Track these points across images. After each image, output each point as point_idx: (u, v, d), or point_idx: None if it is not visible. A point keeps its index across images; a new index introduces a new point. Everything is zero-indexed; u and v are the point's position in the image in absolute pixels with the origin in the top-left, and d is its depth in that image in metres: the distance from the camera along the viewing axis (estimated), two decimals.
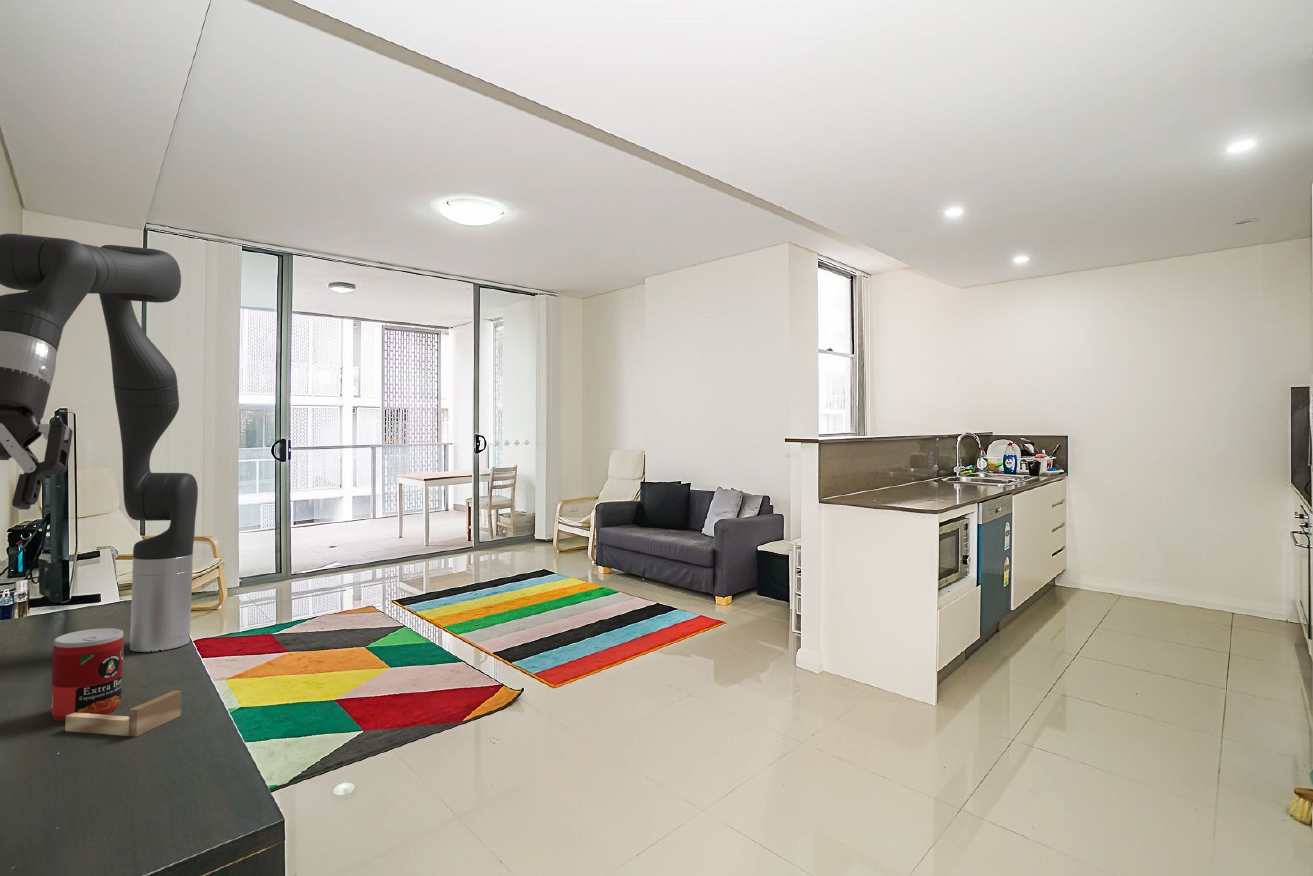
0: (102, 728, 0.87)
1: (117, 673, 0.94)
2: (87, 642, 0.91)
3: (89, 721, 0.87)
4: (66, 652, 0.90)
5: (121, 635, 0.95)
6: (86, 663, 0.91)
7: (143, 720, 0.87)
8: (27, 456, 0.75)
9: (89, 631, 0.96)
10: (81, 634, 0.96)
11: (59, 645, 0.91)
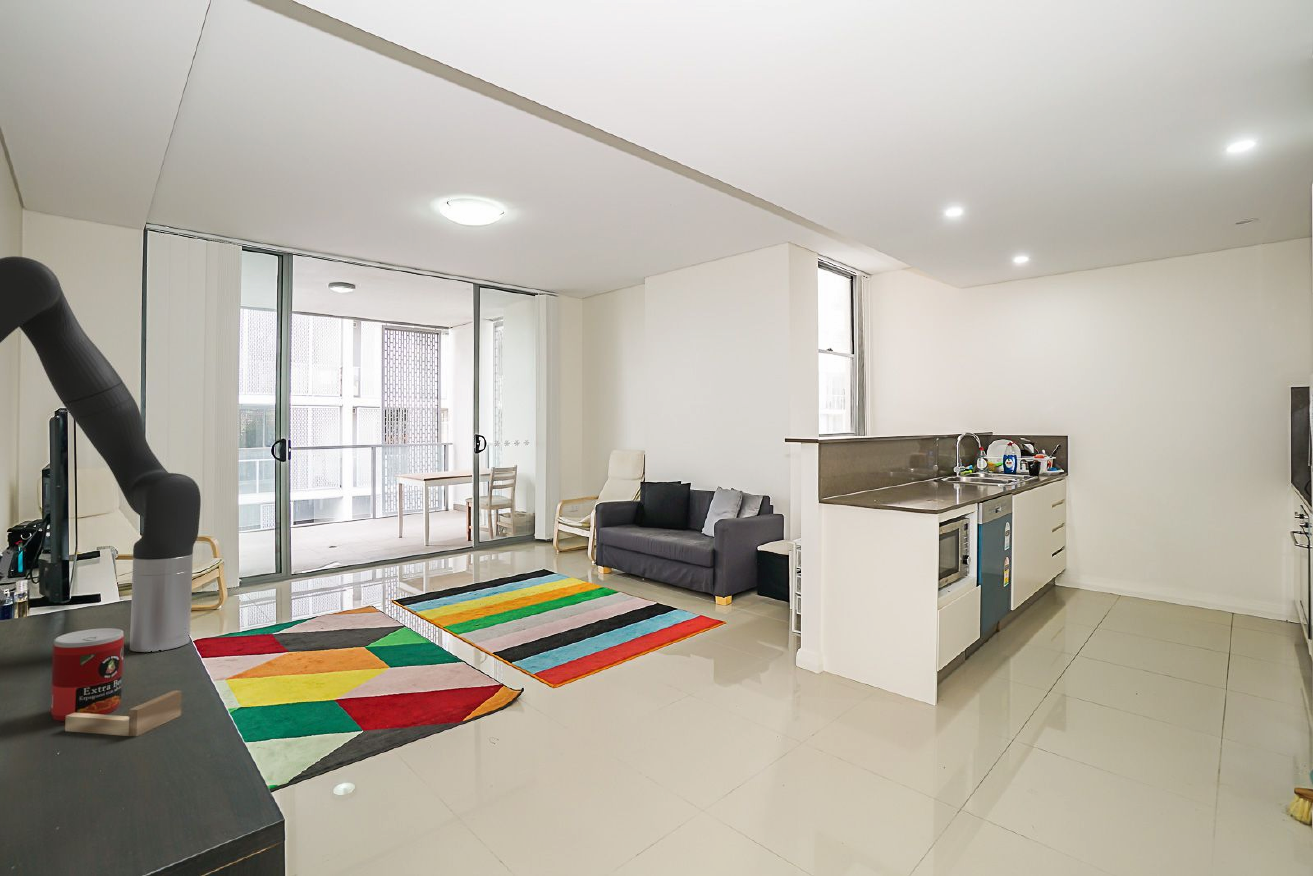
0: (102, 728, 0.87)
1: (117, 673, 0.94)
2: (87, 642, 0.91)
3: (89, 721, 0.87)
4: (66, 652, 0.90)
5: (121, 635, 0.95)
6: (86, 663, 0.91)
7: (143, 720, 0.87)
8: None
9: (89, 631, 0.96)
10: (81, 634, 0.96)
11: (59, 645, 0.91)
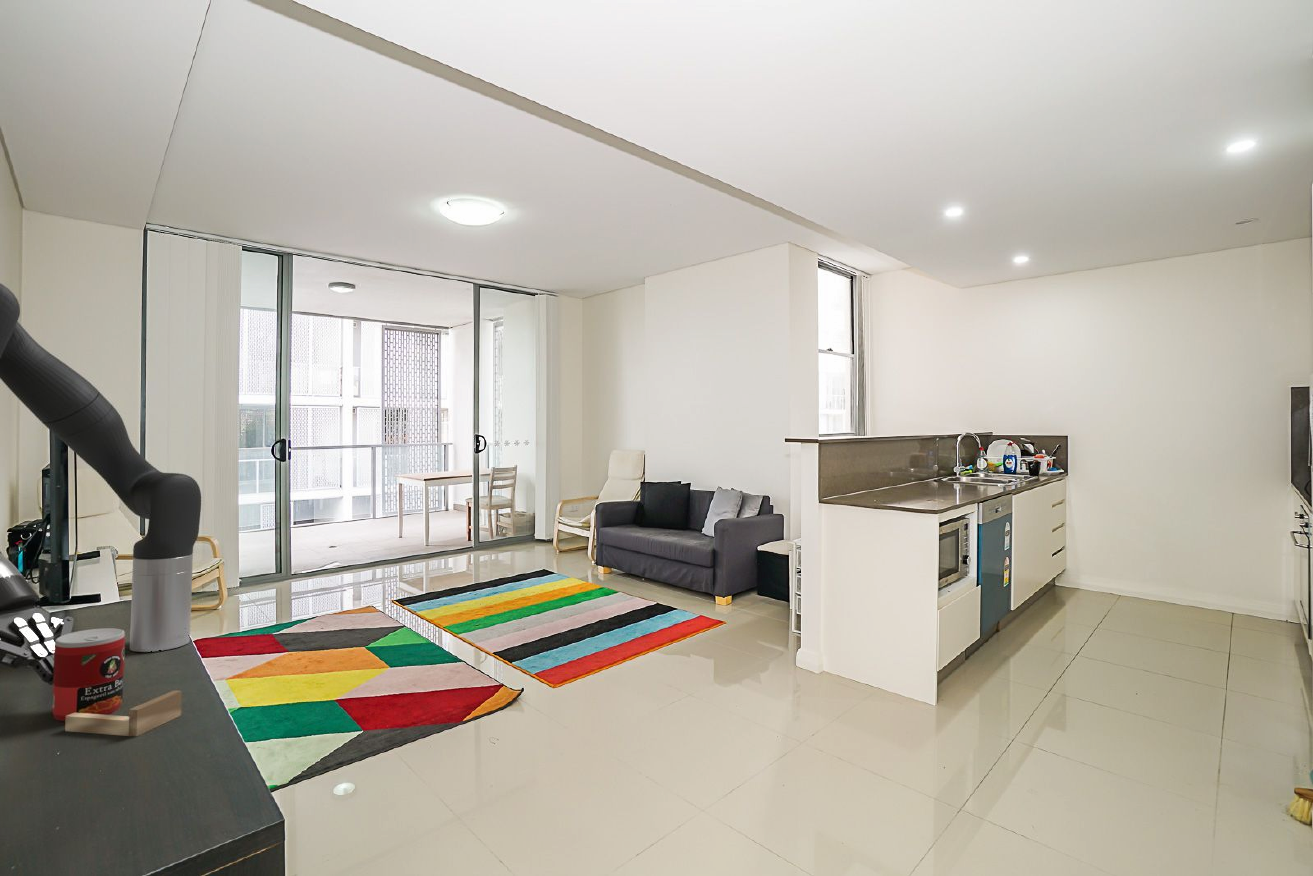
0: (102, 728, 0.87)
1: (119, 673, 0.94)
2: (89, 642, 0.91)
3: (89, 721, 0.87)
4: (67, 652, 0.90)
5: (122, 635, 0.95)
6: (88, 663, 0.91)
7: (143, 720, 0.87)
8: None
9: (90, 631, 0.96)
10: (82, 634, 0.95)
11: (60, 645, 0.90)
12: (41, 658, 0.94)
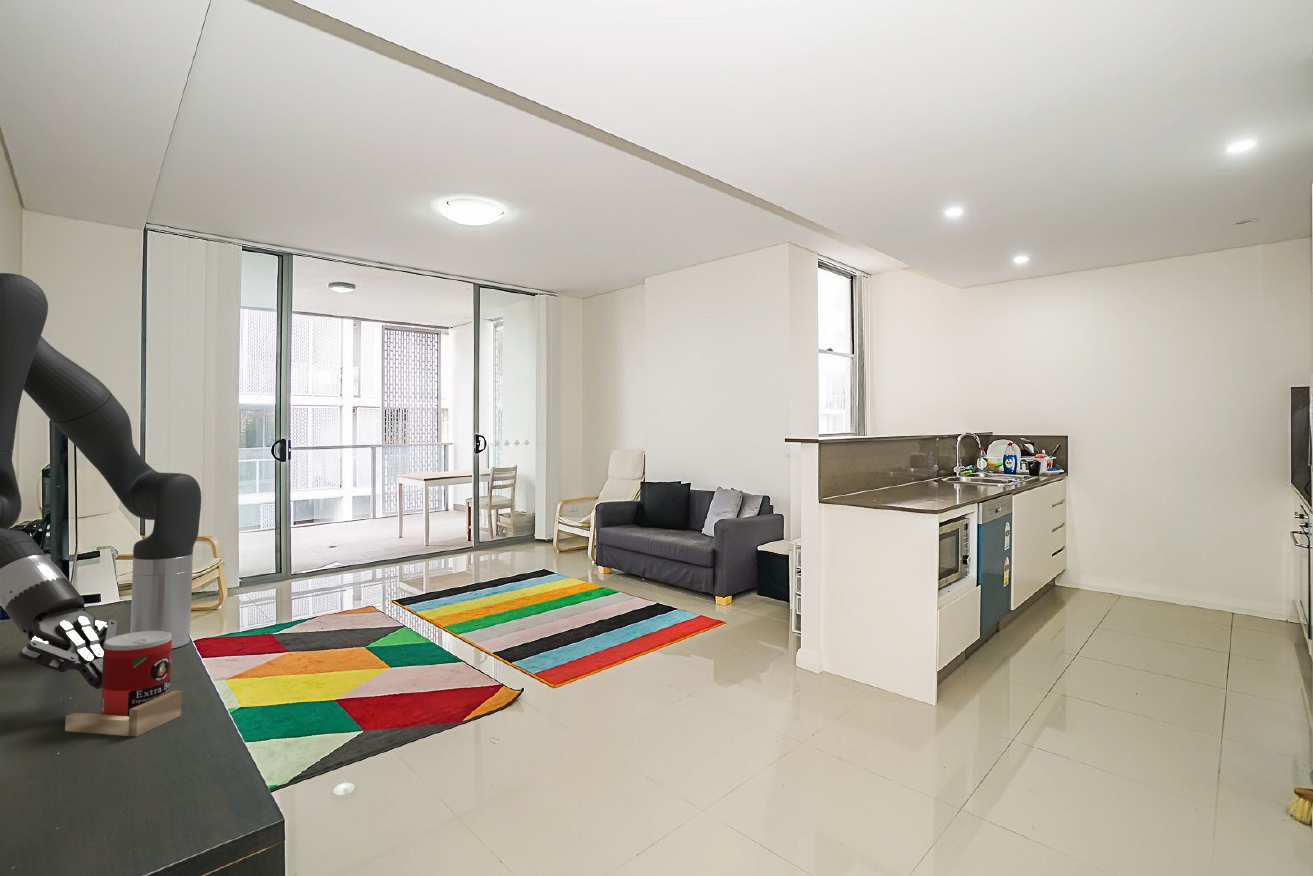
0: (102, 728, 0.87)
1: (167, 676, 0.94)
2: (140, 645, 0.90)
3: (89, 721, 0.87)
4: (118, 655, 0.89)
5: (170, 637, 0.95)
6: (139, 666, 0.90)
7: (143, 720, 0.87)
8: None
9: (135, 634, 0.95)
10: (128, 637, 0.94)
11: (110, 648, 0.90)
12: (87, 662, 0.93)
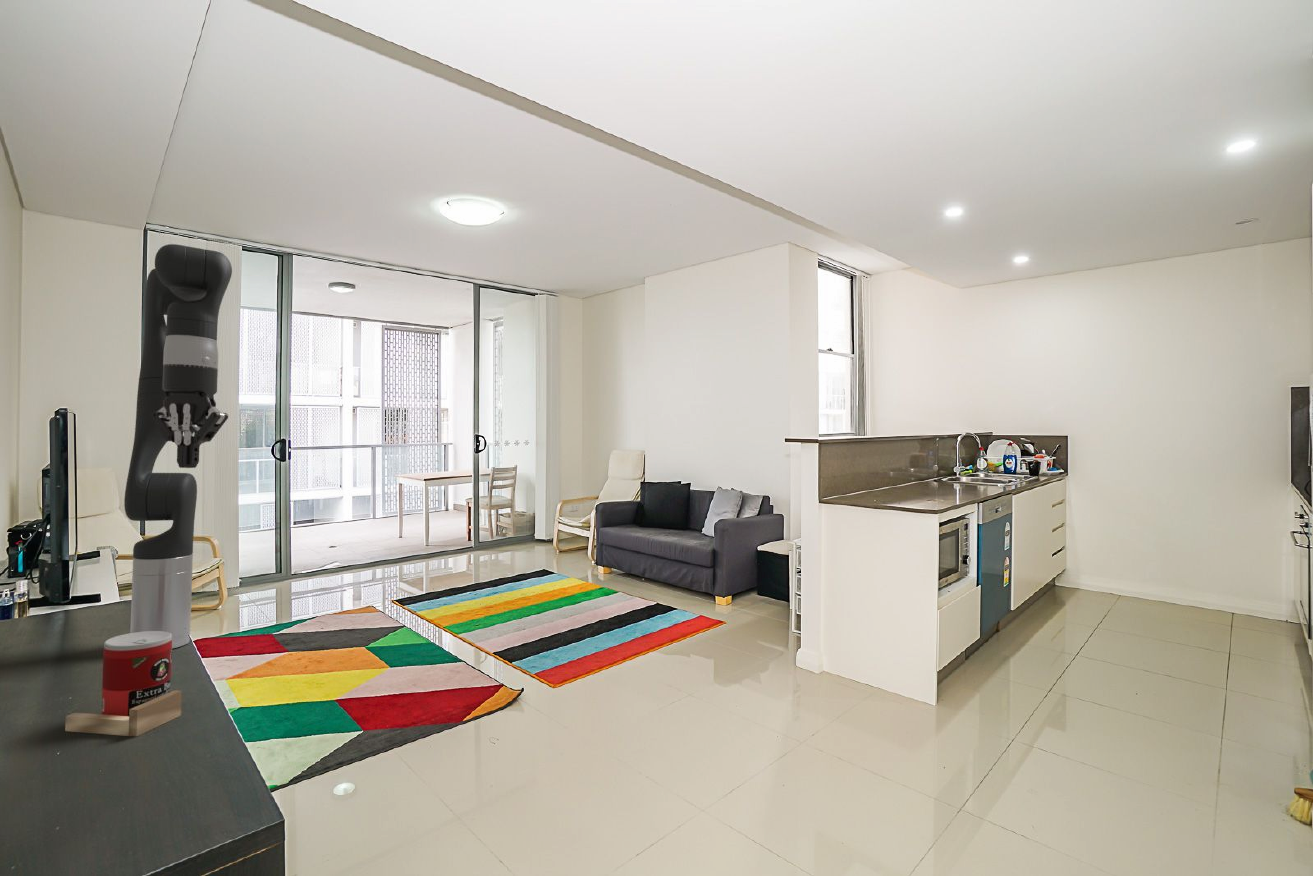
0: (102, 728, 0.87)
1: (167, 676, 0.94)
2: (139, 645, 0.90)
3: (89, 721, 0.87)
4: (119, 655, 0.89)
5: (170, 637, 0.95)
6: (139, 666, 0.90)
7: (143, 720, 0.87)
8: (190, 433, 1.08)
9: (136, 634, 0.95)
10: (128, 637, 0.95)
11: (110, 648, 0.90)
12: None
